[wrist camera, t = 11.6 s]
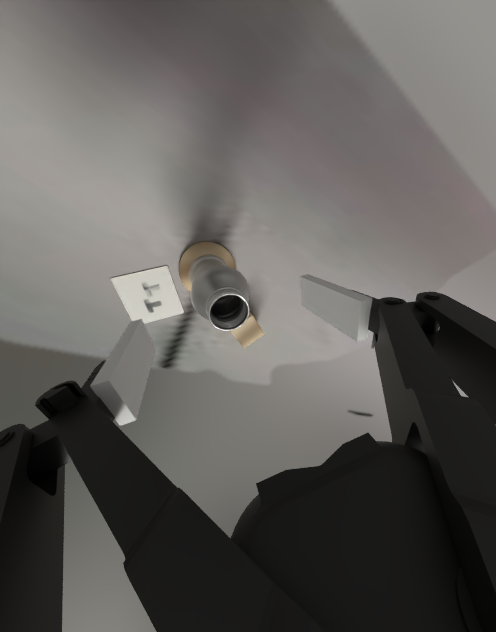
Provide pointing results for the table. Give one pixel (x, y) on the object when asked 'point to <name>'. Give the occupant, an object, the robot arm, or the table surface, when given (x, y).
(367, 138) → the table surface
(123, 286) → the card
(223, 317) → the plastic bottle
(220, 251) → the cork coaster
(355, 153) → the table surface
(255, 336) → the oak block
